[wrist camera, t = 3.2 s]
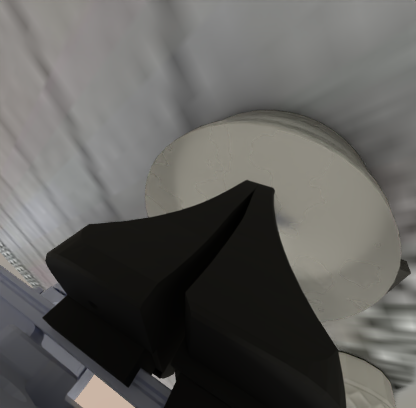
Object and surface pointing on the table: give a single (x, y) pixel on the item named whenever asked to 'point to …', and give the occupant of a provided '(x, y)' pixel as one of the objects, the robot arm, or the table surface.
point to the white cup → (365, 384)
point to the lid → (292, 204)
